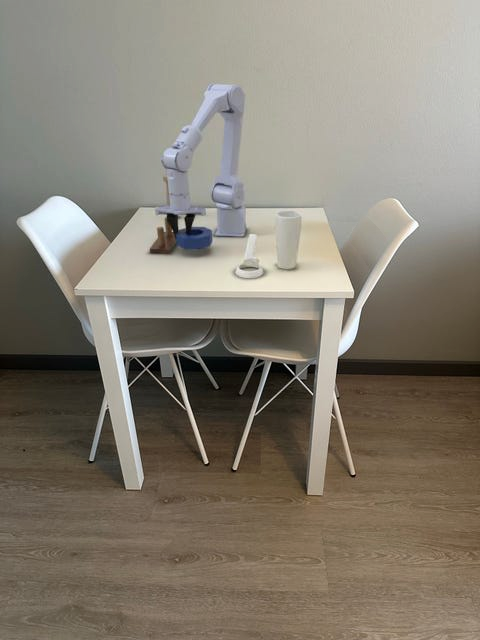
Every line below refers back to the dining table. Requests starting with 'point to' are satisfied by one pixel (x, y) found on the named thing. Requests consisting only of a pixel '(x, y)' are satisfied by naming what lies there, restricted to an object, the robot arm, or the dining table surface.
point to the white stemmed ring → (250, 260)
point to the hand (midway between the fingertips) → (182, 238)
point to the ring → (194, 238)
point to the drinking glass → (287, 237)
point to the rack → (164, 240)
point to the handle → (166, 188)
